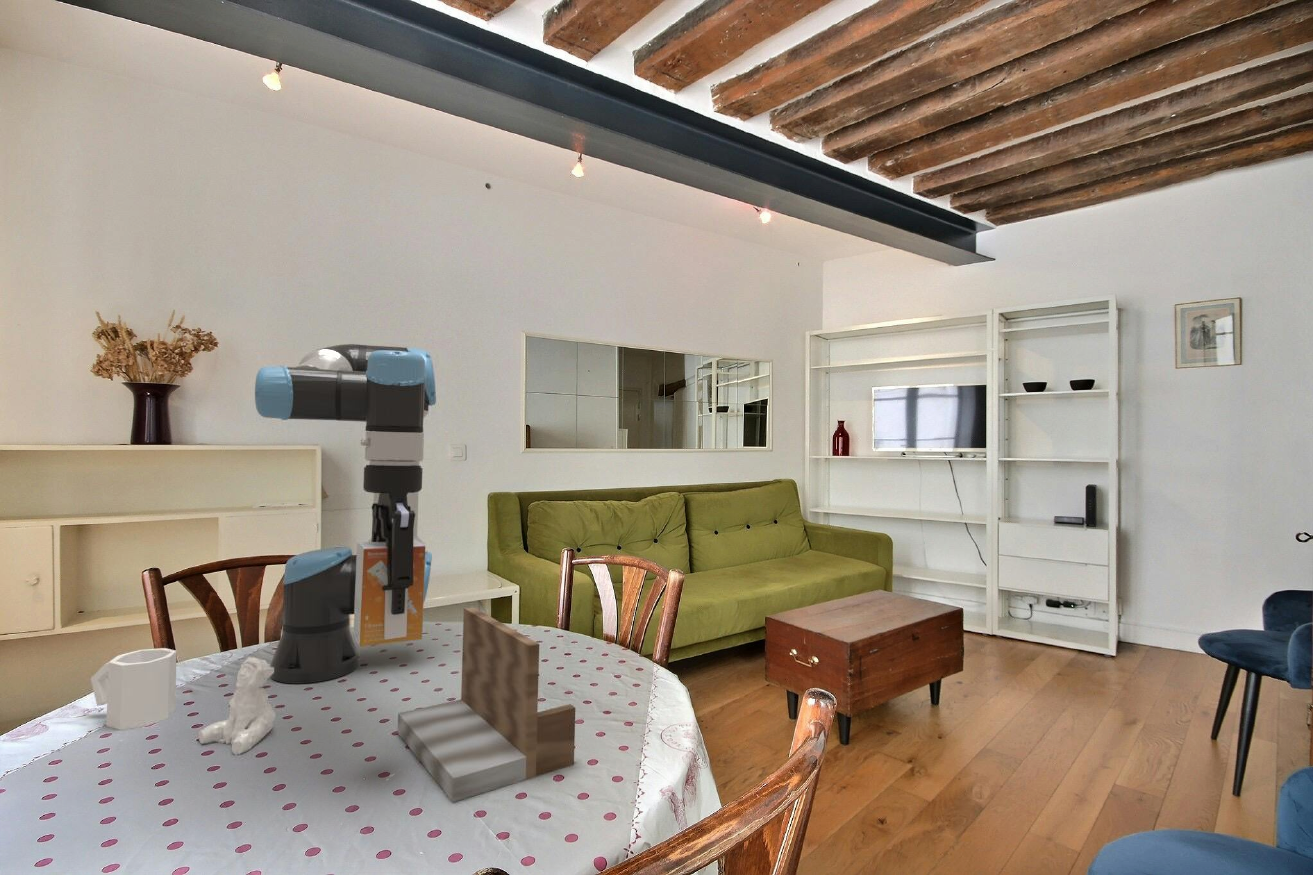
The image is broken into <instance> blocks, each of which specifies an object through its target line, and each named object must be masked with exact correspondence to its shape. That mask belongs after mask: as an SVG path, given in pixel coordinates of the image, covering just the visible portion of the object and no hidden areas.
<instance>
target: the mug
mask: <svg viewBox="0 0 1313 875" xmlns="http://www.w3.org/2000/svg"><path fill="white" fill-rule="evenodd" d="M177 654H178V650H174V649H170V648H166V647H161V648H149V649H148V648H147V649H146V648H145V649H137V650H134V651H130V652H126V653H123V654H119V655H117V656H115V657H114V658H112V659H111V660H109V662H106V663H104V664H103V665H102V666H101V667H100V668H99V669H98V670H97V672H95V674H93V676H91V678H90V681H91V686H92V690H93V695H94V697H95V703H96V706H104V705H106V727H109V728H112V729H116V730H119V731H122V730H129V729H137V728H144V727H149V726H152V725H154V724H157V723H159V722H162V721H164V720H167V719H169V718H170V717H171V715H172V714H173V713H174V712H175V711H176V709H175V708H176V687H177V686H176V685H177V684H176V683H177V659H178V658H177V656H178V655H177Z"/></svg>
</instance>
